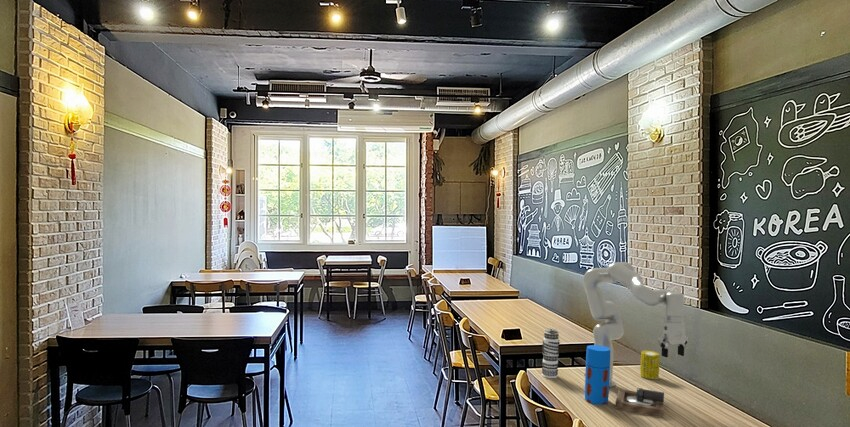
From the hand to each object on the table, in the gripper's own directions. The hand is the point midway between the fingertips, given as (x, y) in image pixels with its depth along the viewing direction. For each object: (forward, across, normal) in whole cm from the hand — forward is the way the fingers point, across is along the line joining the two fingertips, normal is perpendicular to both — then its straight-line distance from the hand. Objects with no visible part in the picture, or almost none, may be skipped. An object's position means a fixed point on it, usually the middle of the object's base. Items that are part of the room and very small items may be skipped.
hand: (672, 355), depth 250 cm
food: (+24, +23, +38) cm, 50 cm away
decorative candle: (+24, -29, +54) cm, 66 cm away
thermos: (+24, -29, +16) cm, 41 cm away
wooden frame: (+24, -14, +5) cm, 28 cm away
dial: (+22, -12, +4) cm, 26 cm away
